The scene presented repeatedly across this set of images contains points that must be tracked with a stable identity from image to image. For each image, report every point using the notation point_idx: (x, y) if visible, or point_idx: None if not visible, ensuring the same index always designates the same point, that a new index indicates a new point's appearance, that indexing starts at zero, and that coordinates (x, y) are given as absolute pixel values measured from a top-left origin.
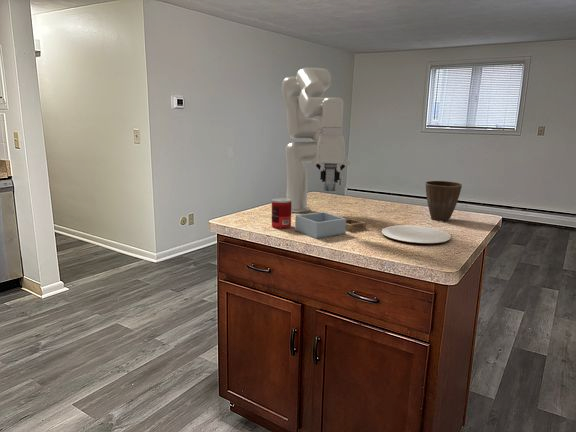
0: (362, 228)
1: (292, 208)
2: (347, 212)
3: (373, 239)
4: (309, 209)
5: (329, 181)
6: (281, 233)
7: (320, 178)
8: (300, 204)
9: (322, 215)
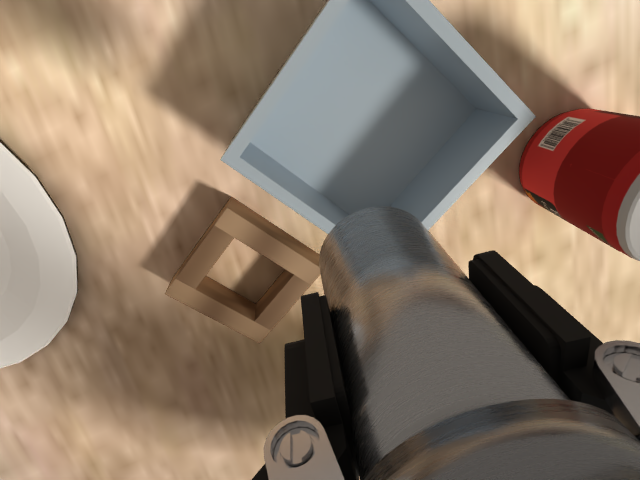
0: (183, 263)
1: None
2: None
3: (62, 97)
4: None
5: (400, 256)
6: (552, 17)
7: (537, 287)
8: None
9: None
